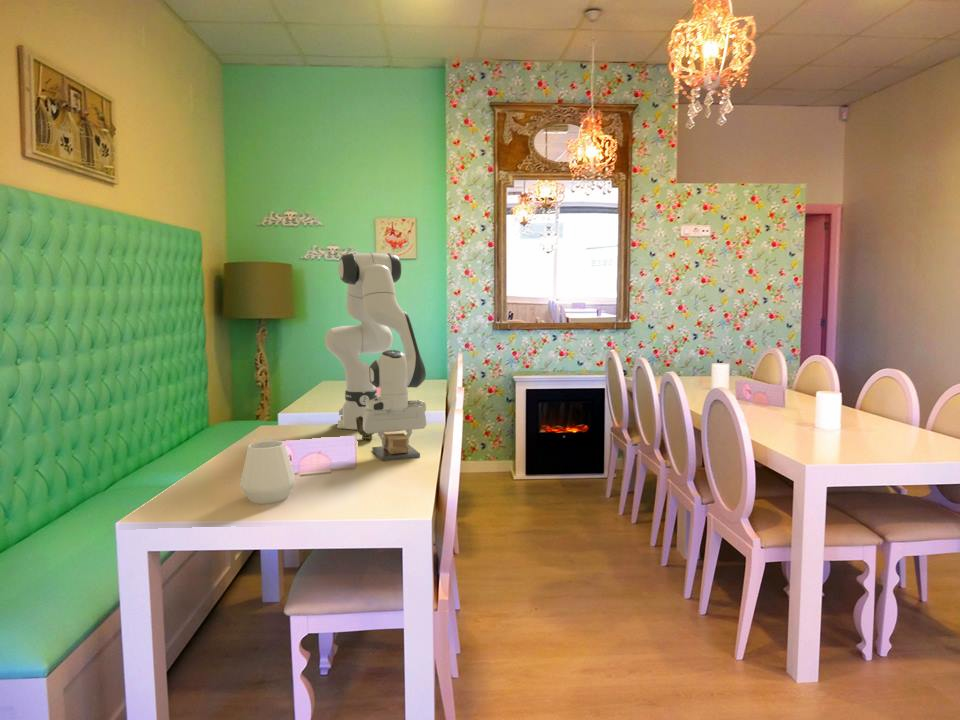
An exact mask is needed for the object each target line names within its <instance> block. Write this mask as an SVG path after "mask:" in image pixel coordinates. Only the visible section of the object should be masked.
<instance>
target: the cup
mask: <svg viewBox="0 0 960 720" xmlns="http://www.w3.org/2000/svg"><path fill="white" fill-rule="evenodd" d="M356 423H357V429H356V430H357V433H359V435H360V436H361V439H362V440H363V441H370V440H372V439H373V435H374V434H375V433H370V434H367V433H365V432H364V430H363V417H361V416H359V417H357V419H356Z"/></svg>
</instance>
